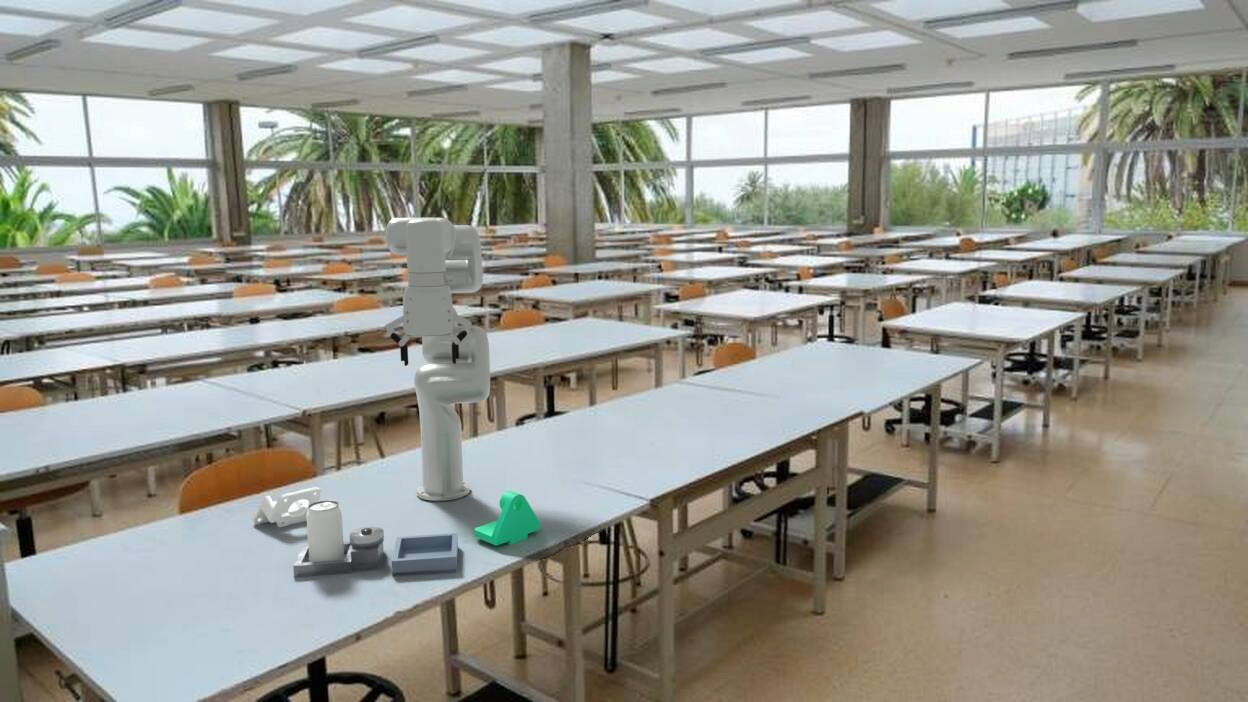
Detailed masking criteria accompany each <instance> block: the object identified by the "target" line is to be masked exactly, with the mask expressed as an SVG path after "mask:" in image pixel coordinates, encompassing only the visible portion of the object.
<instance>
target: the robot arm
mask: <svg viewBox="0 0 1248 702" xmlns="http://www.w3.org/2000/svg"><path fill="white" fill-rule="evenodd" d="M385 241H386V246H387V247H388V249H389V252H390V253H391V254H393V255H395V256H400V257H401V256H402V257H403V256H404V257H406V264H407V265H406V266H407V287H404V290H403V292H404V293H403V297H402V298H403V299H402V300H403V302H402V315H401V316H398V317H397V318H395V319H393V320H391V321H389V322H388V323H386V324H385V327H384V328H385V329H386V332H387V334H388V335H389V336H390V338H391V340H392V341H394V342H395V343H396V344H397V345H398V346H399V348H400V349H399V351H400V362H404V366H409V348H408V347H409V345H408V344H407V342H408V341H409V340H410V339H411V338H422V339H421V340H422V341H421V343H422V344H421V350H422V351H421V352H422V357H423V359H424V361H425V362H426V363H427V364H425V365H422V366H420V367H419V368H418V369H417V370H416V372H415V374H414V378H413V379H414V382H413V383H414V389H415V390H414V391H415V393H416V400H417V406H418V412H419V426H420V446H421V448H420V449H421V451H420V452H421V470H422V471H421V472H422V484H421V485H419V486H418V487H417V488H416V495H417V497H418V498H420V499H422V500H426V501H431V502H432V501H433V502H443V501H452V500H457V499H460V498H461V499H462V498H463V497H465V496H467V495H468V494H469V493H470V492H471V491H470V490H471V487H470V484H469V483H468V482H465V481H464V471H463V470H464V467H463V462H464V461H463V441H462V421H461V418H460V417H459V414H458V413H457V412H456V410H454V408H453V407H452V406H451V405H452V404H453V405H454V404H470V403H471V404H472V403H473V404H474V403H481V402H484V401H486V400H487V399H488V398H489V395H490V391H491V366H490V362H491V361H490V345H489V344H490V342H489V338H488V335H487V332H486V331H485V329H484V328H482V327H481V326H477V325H472V322H471V321H470V320H468V319H466V318H464V317H462V316H459V315H458V313H457V311H456V309H455V308H454V305H453V297H452V294H472V293H476V292H479V290H481V288H482V285H483V280H484V275H483V273H484V272H483V256H482V253H483V252H482V246H481V245H482V243H481V238H480V235H479V233H478V231H477V229H476V228H475V227H474V226H472V225H468V224H459V225H457V224H453V223H452V221H450V220H449V219H447V218H445V217H444V218H443V217H394V218H391V219H390V220H389V221H388V223H387V225H386V229H385ZM458 324H460V325H458ZM399 325H403V326H402V328H403V335H402V336H400V335H399V334H398V333H397V332H396V331H395V328H396V327H398V326H399Z"/></svg>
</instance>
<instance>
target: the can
mask: <svg viewBox="0 0 1248 702" xmlns="http://www.w3.org/2000/svg"><path fill="white" fill-rule="evenodd" d="M339 505H340V504H339V502H338V501H337V500H330V499H326V500H319V501H318V502H314V503H312V504H310V505H309V506H308V508H309V509H308V512H307V516H306V517H307V521H306V532H307V533H306V534H307V544H308V548H309V559H308V562H321V561H336V560H345V555H344V542H345V541H344V529H343V528H344V527H343V513H342V509H341V507H340V506H339Z"/></svg>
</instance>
